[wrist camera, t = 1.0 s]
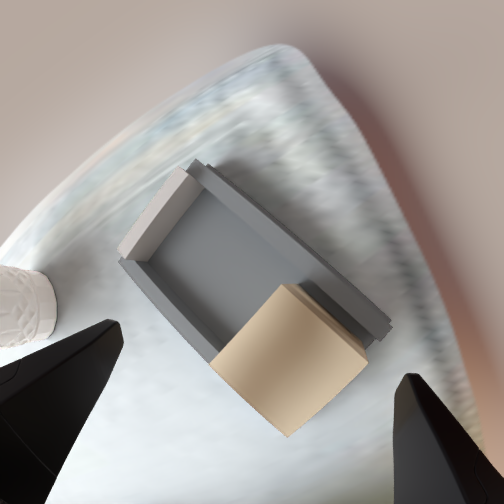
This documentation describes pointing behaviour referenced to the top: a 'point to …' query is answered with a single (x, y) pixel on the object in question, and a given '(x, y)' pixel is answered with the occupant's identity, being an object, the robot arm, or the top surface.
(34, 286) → the white cup
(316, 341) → the birch block
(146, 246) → the chute
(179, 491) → the top surface
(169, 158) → the top surface
